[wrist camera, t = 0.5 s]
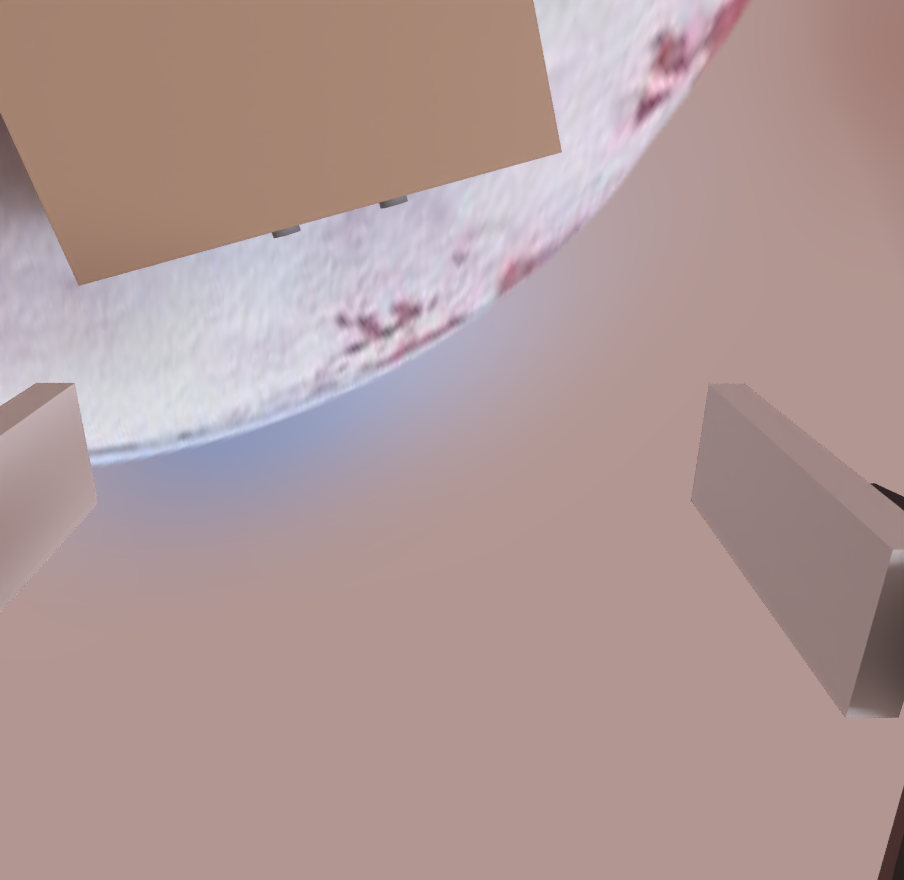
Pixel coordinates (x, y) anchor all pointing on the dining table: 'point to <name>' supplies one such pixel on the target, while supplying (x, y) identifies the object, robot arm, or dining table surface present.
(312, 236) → the dining table surface
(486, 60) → the cabinet
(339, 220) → the dining table surface
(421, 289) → the dining table surface
